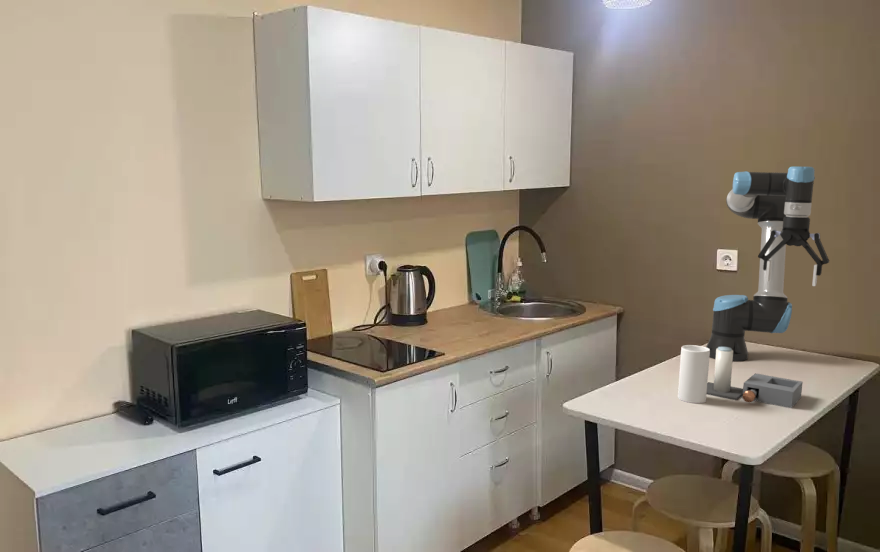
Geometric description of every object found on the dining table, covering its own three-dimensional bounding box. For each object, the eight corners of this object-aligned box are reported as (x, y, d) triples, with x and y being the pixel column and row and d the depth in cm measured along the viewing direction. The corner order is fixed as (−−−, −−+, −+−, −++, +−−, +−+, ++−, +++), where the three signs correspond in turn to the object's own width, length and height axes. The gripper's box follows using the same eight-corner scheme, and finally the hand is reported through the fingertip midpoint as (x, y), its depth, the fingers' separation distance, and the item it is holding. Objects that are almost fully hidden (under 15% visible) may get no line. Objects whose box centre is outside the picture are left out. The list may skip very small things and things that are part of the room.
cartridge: (710, 387, 232) (713, 346, 230) (725, 387, 232) (727, 346, 230) (718, 392, 227) (721, 350, 225) (733, 391, 228) (736, 349, 226)
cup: (702, 395, 225) (705, 345, 223) (709, 404, 217) (713, 352, 215) (675, 394, 226) (678, 344, 224) (681, 402, 218) (684, 350, 216)
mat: (708, 383, 238) (708, 382, 238) (746, 391, 231) (746, 389, 231) (696, 392, 229) (696, 390, 228) (736, 400, 221) (736, 398, 221)
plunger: (750, 393, 227) (751, 382, 226) (762, 395, 225) (763, 384, 224) (741, 401, 218) (742, 390, 218) (753, 403, 216) (754, 392, 216)
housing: (753, 388, 234) (755, 373, 234) (801, 397, 226) (802, 381, 225) (742, 398, 223) (743, 382, 222) (791, 408, 215) (793, 392, 214)
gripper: (751, 214, 230) (746, 280, 233) (839, 219, 216) (832, 289, 219) (757, 213, 236) (752, 277, 239) (843, 218, 221) (836, 286, 225)
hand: (790, 283), depth 229 cm, fingers open, 13 cm apart
